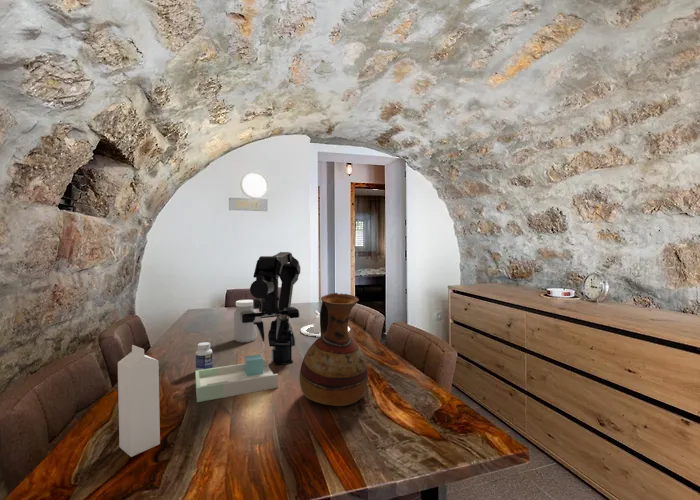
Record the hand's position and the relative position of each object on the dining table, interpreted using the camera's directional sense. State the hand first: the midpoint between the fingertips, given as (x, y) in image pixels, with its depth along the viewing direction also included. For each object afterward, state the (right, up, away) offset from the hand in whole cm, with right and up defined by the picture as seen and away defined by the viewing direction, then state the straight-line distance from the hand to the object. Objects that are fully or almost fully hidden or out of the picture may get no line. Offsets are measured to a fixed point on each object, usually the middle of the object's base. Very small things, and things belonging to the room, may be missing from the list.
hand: (270, 340), depth 118 cm
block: (-5, -10, -2) cm, 11 cm away
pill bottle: (-24, -12, +5) cm, 27 cm away
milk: (-20, -13, -40) cm, 47 cm away
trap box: (-8, -12, -8) cm, 17 cm away
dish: (+14, -11, +60) cm, 62 cm away
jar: (-21, -11, +43) cm, 50 cm away
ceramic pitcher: (+22, -13, -16) cm, 30 cm away
